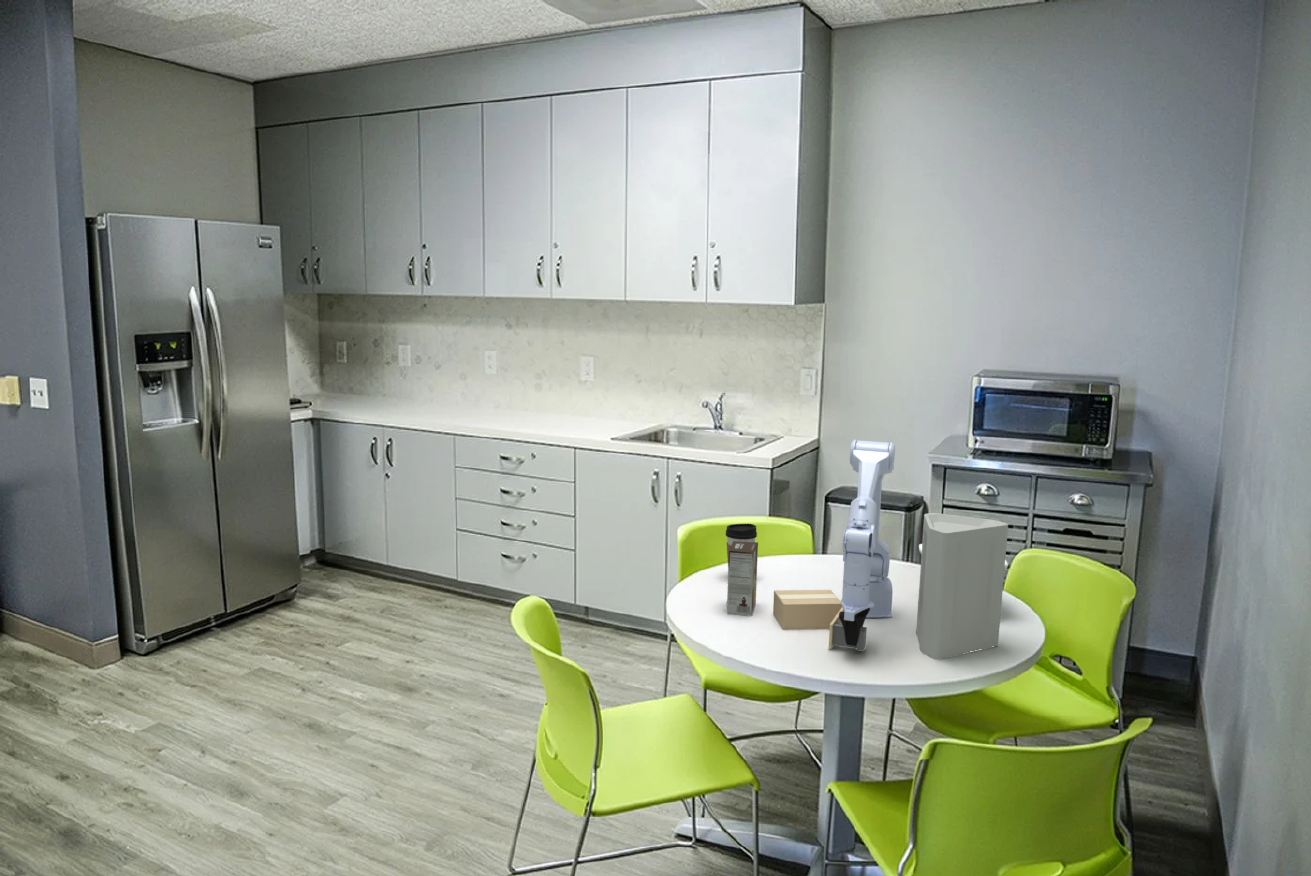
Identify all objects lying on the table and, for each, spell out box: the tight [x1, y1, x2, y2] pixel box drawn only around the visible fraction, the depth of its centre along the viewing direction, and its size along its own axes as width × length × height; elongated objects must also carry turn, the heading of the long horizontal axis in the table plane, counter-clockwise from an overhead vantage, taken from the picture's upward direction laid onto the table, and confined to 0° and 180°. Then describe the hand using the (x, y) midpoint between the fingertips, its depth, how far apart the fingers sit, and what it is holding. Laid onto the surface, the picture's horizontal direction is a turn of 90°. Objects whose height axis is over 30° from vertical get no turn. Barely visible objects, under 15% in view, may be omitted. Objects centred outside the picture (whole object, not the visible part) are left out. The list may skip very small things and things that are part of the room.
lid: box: [828, 607, 868, 652], centre depth 208 cm, size 14×7×6 cm, turn 157°
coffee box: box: [726, 541, 759, 617], centre depth 227 cm, size 9×6×16 cm
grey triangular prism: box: [915, 512, 1009, 660], centre depth 207 cm, size 19×15×28 cm
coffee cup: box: [725, 523, 758, 562], centre depth 250 cm, size 8×8×15 cm
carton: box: [772, 589, 842, 630], centre depth 220 cm, size 14×10×6 cm
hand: (852, 641), depth 203 cm, fingers open, 3 cm apart
